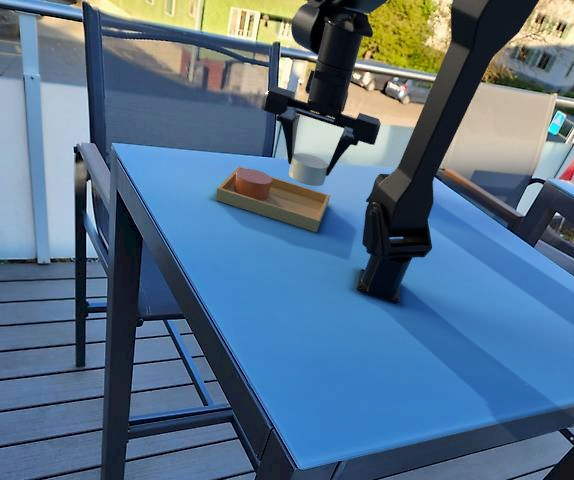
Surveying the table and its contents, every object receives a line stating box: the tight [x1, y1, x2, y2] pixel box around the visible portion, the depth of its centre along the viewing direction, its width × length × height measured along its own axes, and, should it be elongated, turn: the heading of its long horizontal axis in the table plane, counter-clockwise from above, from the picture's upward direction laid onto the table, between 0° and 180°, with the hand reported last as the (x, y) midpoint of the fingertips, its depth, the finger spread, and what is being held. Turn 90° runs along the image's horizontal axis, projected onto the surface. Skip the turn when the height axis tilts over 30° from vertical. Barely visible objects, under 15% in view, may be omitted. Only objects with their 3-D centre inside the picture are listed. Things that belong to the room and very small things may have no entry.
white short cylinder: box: [288, 152, 330, 187], centre depth 83 cm, size 6×6×3 cm
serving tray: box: [215, 166, 331, 233], centre depth 88 cm, size 13×18×2 cm
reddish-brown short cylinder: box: [234, 168, 272, 200], centre depth 87 cm, size 6×6×3 cm
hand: (308, 169), depth 83 cm, fingers closed on white short cylinder, 6 cm apart
